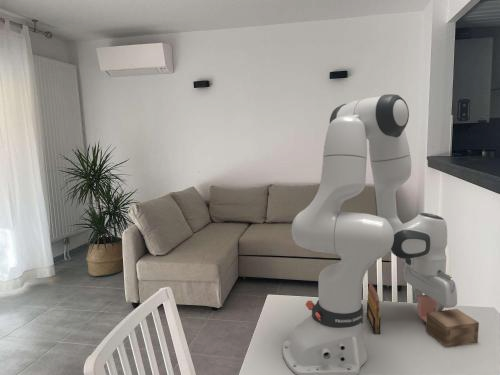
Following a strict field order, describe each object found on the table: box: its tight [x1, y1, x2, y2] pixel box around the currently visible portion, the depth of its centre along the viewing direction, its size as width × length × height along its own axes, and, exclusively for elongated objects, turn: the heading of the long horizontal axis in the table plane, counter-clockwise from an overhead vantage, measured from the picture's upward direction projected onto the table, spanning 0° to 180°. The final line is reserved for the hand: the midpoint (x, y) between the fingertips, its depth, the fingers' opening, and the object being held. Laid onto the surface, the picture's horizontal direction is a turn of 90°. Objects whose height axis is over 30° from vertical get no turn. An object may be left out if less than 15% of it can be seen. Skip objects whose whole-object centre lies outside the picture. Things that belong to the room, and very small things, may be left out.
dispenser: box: [425, 308, 480, 348], centre depth 99 cm, size 10×8×6 cm
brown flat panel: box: [366, 281, 382, 335], centre depth 107 cm, size 11×2×12 cm, turn 173°
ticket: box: [417, 294, 438, 323], centre depth 103 cm, size 6×14×7 cm, turn 10°
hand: (427, 307), depth 109 cm, fingers open, 8 cm apart
